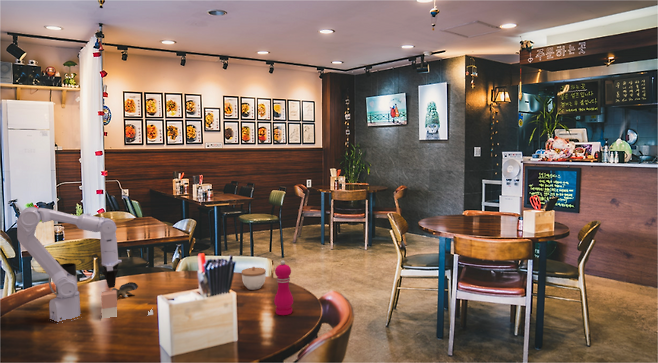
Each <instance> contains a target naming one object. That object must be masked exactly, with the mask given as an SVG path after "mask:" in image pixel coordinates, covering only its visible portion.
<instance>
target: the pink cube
mask: <svg viewBox="0 0 658 363" xmlns="http://www.w3.org/2000/svg"><path fill="white" fill-rule="evenodd" d="M100 297H101V298H100V299H101V308H102V309H105V308H112V307H117V308H118V299H117V290H112V289H111V290H105V291H104V290H103V291H101V294H100Z"/></svg>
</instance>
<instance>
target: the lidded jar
mask: <svg viewBox="0 0 658 363" xmlns="http://www.w3.org/2000/svg"><path fill="white" fill-rule="evenodd" d="M266 271H267V270H266V268H263V267H255V266H252V267H250V268H249V267H248V268H244V269H243V270H241V278H242V282H243V285H244V286H245V287H246V289H247V290H250V291H251V290H259V289H261V288H262V286H263V285H264V284H265V281H266V273H267V272H266Z"/></svg>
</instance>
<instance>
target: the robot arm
mask: <svg viewBox="0 0 658 363" xmlns="http://www.w3.org/2000/svg"><path fill="white" fill-rule="evenodd" d="M40 221H41V223H42V224H44V223H47V222H51V221H55V222H58V223H59V222H60V223H65V224H72V225H75V226H76V228H78V229H79V230H84V231H88V232H93V233H98V232H99V233H100V240H99V242H100V256H101V266H102V267H103V269H102V270H101V273H102V275H103V276H104V278H105V282H106V285H107V287H108V289H113V288H116V287H115V286H116V280H117V274H118V273H119V268H118V267H119V265H120V264H119V263H122V260H123V259H119V254H118V253H119V252H118V241H117V240H118V239H117V233H116V231H117V230H118V227H117V224H116V222H115V221H114V220H112V219H111V218H108V217H106V218H105V217H104V216H101V217H99V216H94V215H91V213H89V212H87V213H82V214H81V215H74V214H71V213H66V212H62V211H59V210H54V209H51V208H50V209H49V208H44V207H35V206H27V207H25V209H23V210H22V211H21V212H20V214H19V216H18V218H17V220H16V228H17V231H16V232H17V233H16V235H17V241H18V242H19V243H20V245H22V247H23V248H24V249H25V250H26V251H27V253H29V255H30V256H31V257H32V258H33V259H34V260H35V261H36V262H37V264H38V266H40V267H41V268H42V269H43V271H44V272H45V273H46V274H47V275H48V277H49V276H50V277H51V281H52V282H53V284H54V286H55V288H56V287H57V289H58V293H59V294H57V297H56V296H55V298H51V299H50V300H49V304H48V305H49V306H48V308H49V319H52V320H54V321H57V322H59V321H62V320H66V319H72V318H75V317H78V316H80V314H81V300H80V298H81V297H80V291H79V290H78V291H77V288H78V278H77V279H76V277H75V276H73V275H70V274H69V273H68V272H67V271H66V270H64V269H63V268H62V267H61V266H60V263H59V262H58V261H57V259H55V258H54V257H53V255H52V254H51V253H50V252H49V251H48V249H46V247H45V246H44V245H43V244H42V242H40V239H38V238H37V236H36V234H35V233H36V229H37V227H38V225H39V223H40ZM78 289H79V288H78ZM60 318H61V319H60Z"/></svg>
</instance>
